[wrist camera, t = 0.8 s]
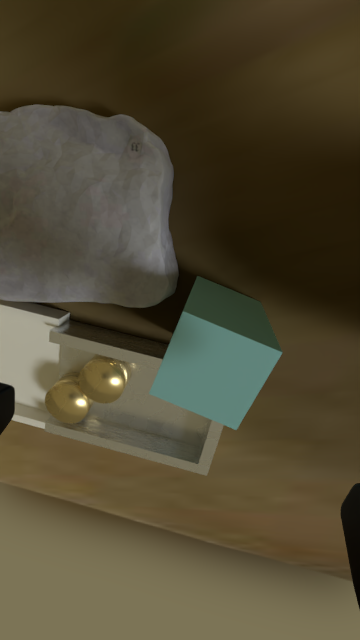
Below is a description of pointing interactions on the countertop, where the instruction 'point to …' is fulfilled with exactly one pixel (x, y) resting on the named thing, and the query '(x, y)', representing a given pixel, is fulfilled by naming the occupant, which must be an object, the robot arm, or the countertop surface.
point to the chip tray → (29, 356)
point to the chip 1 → (68, 400)
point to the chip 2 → (104, 378)
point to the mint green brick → (217, 354)
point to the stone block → (84, 209)
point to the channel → (133, 403)
